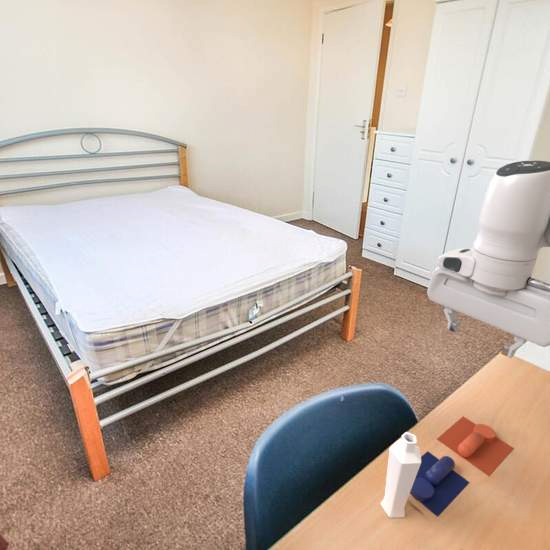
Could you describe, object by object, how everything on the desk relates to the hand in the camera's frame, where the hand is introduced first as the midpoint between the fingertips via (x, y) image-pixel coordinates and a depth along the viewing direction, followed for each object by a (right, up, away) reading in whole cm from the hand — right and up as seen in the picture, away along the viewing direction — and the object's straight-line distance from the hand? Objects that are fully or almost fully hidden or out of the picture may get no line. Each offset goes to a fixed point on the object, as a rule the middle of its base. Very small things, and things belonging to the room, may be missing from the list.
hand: (478, 341), depth 66 cm
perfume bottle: (-16, -26, -5) cm, 31 cm away
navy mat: (-8, -24, -1) cm, 25 cm away
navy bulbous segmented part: (-8, -24, -1) cm, 25 cm away
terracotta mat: (+3, -21, +7) cm, 22 cm away
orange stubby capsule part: (+3, -20, +7) cm, 22 cm away
